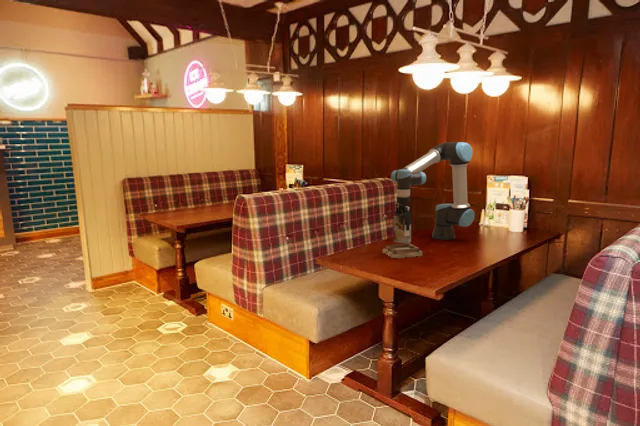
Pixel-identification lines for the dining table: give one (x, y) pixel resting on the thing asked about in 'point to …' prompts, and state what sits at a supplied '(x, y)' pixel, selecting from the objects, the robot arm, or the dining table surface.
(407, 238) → the coffee box
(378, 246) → the dining table surface
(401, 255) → the shallow beige rectangular tray
